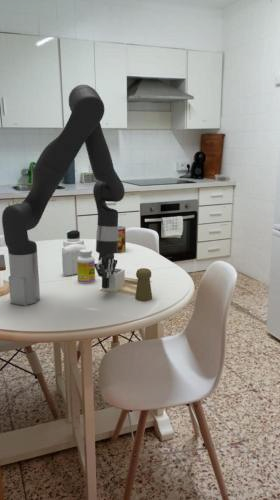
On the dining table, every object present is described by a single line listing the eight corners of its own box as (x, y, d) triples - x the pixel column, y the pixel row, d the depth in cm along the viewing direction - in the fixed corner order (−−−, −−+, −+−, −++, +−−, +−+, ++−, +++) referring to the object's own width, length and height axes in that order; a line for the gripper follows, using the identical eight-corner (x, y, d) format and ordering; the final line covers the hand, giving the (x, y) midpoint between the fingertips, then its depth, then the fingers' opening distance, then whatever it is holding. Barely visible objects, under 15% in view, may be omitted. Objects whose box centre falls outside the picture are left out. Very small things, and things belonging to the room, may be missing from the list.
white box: (115, 291, 147) (115, 274, 145) (103, 290, 148) (102, 273, 147) (124, 284, 154) (124, 268, 152) (112, 283, 156) (112, 267, 154)
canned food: (107, 252, 201) (106, 228, 198) (113, 248, 208) (112, 225, 205) (122, 253, 199) (122, 229, 196) (127, 249, 206) (127, 226, 203)
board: (134, 297, 143) (134, 295, 143) (99, 292, 148) (99, 290, 148) (152, 282, 158) (152, 281, 158) (119, 278, 163) (119, 276, 163)
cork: (146, 304, 137) (146, 273, 134) (131, 300, 140) (131, 270, 137) (155, 298, 142) (155, 268, 139) (140, 295, 145) (140, 265, 142)
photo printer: (84, 270, 174) (83, 241, 170) (88, 272, 170) (87, 243, 167) (61, 274, 168) (59, 245, 165) (65, 277, 165) (64, 247, 161)
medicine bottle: (84, 254, 197) (83, 230, 194) (74, 258, 191) (73, 233, 188) (73, 252, 201) (72, 228, 198) (63, 255, 195) (62, 231, 192)
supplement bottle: (90, 286, 154) (89, 253, 151) (74, 284, 156) (73, 251, 153) (98, 280, 160) (97, 249, 157) (83, 278, 162) (81, 247, 159)
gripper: (107, 241, 134) (105, 293, 136) (125, 238, 146) (123, 285, 148) (87, 239, 137) (86, 290, 139) (106, 236, 149) (105, 283, 151)
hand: (105, 287), depth 144 cm, fingers closed
